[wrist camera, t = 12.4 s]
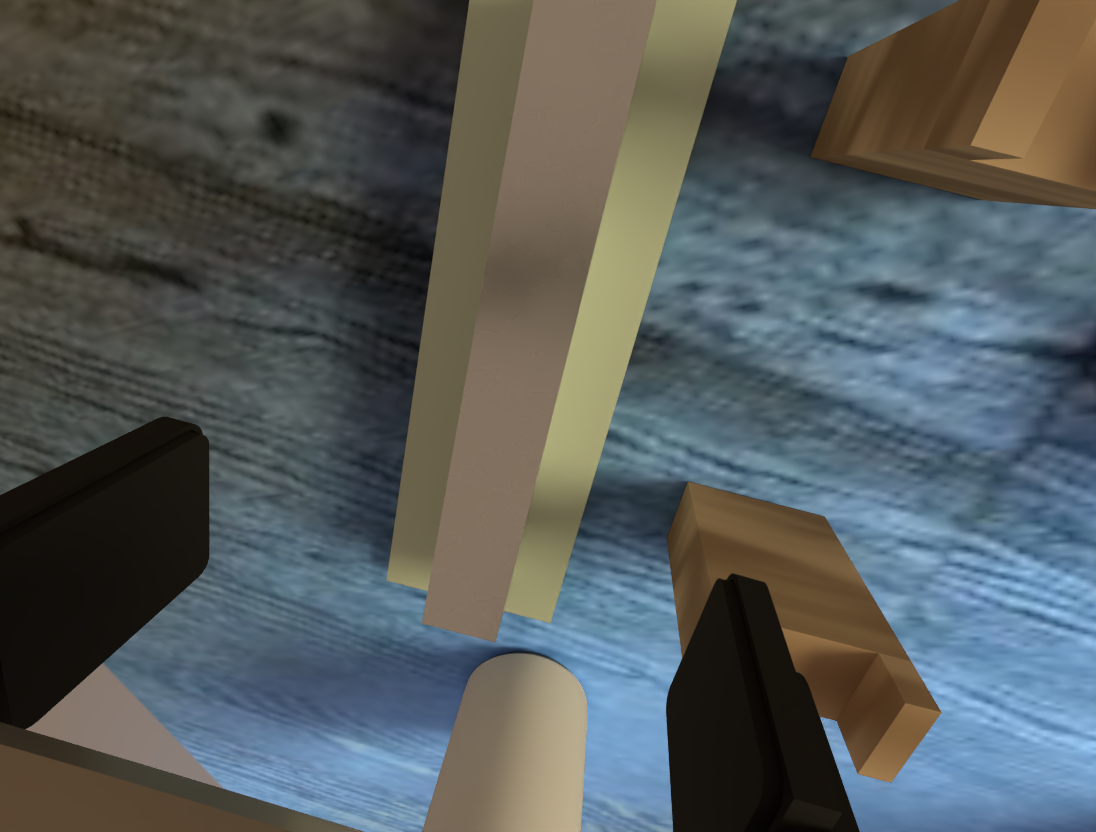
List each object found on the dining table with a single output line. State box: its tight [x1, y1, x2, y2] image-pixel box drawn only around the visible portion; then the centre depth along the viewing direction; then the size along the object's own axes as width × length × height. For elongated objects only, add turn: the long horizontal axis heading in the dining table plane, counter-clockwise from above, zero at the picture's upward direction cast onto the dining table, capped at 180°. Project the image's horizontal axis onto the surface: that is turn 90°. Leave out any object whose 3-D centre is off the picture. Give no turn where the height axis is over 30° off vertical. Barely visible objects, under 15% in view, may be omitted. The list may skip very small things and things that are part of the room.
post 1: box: [667, 482, 942, 783], centre depth 21 cm, size 3×6×10 cm, turn 77°
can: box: [422, 652, 587, 832], centre depth 25 cm, size 6×6×12 cm
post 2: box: [810, 0, 1096, 209], centre depth 15 cm, size 3×6×10 cm, turn 77°
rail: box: [422, 0, 657, 642], centre depth 20 cm, size 22×3×4 cm, turn 167°
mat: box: [387, 0, 737, 623], centre depth 23 cm, size 26×8×1 cm, turn 167°
